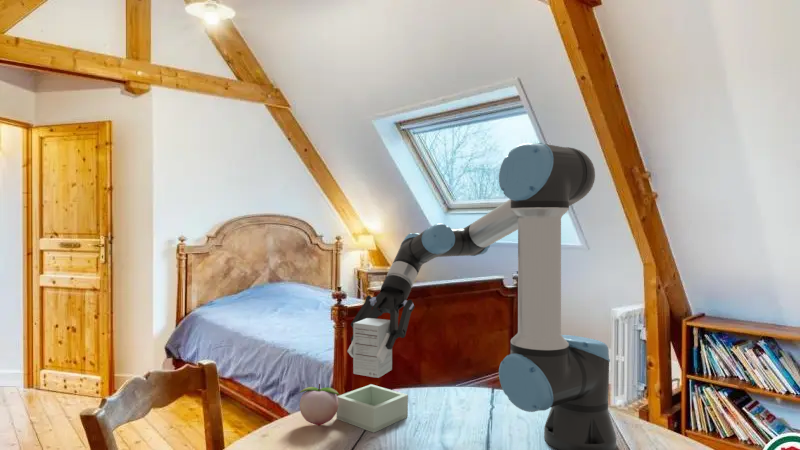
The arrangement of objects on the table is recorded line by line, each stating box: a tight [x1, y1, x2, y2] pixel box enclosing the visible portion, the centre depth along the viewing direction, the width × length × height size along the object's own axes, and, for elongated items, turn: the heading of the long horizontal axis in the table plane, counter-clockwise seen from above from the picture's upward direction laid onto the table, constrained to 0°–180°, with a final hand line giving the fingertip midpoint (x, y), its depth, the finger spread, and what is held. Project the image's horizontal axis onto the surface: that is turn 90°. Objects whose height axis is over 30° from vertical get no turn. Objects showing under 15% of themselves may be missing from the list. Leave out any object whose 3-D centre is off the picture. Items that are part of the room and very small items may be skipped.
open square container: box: [336, 383, 409, 433], centre depth 127 cm, size 12×12×6 cm
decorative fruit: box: [299, 383, 340, 427], centre depth 121 cm, size 9×8×10 cm
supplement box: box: [352, 318, 393, 379], centre depth 127 cm, size 7×7×13 cm
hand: (365, 356), depth 124 cm, fingers closed on supplement box, 8 cm apart
